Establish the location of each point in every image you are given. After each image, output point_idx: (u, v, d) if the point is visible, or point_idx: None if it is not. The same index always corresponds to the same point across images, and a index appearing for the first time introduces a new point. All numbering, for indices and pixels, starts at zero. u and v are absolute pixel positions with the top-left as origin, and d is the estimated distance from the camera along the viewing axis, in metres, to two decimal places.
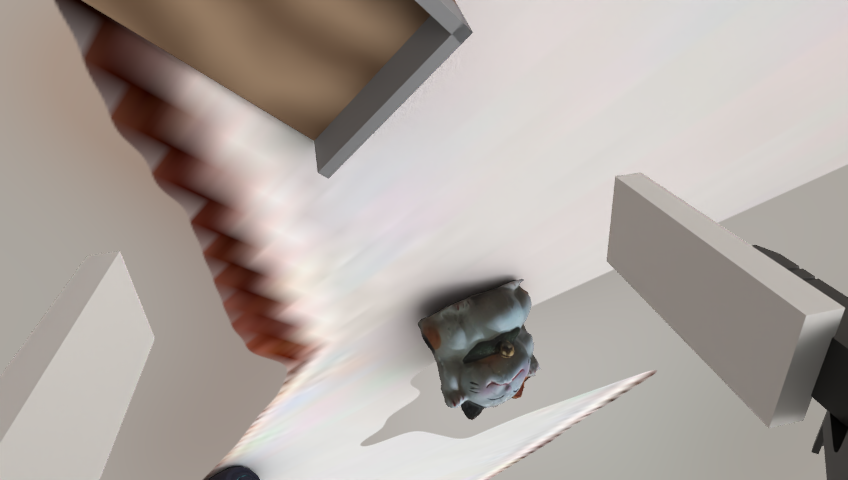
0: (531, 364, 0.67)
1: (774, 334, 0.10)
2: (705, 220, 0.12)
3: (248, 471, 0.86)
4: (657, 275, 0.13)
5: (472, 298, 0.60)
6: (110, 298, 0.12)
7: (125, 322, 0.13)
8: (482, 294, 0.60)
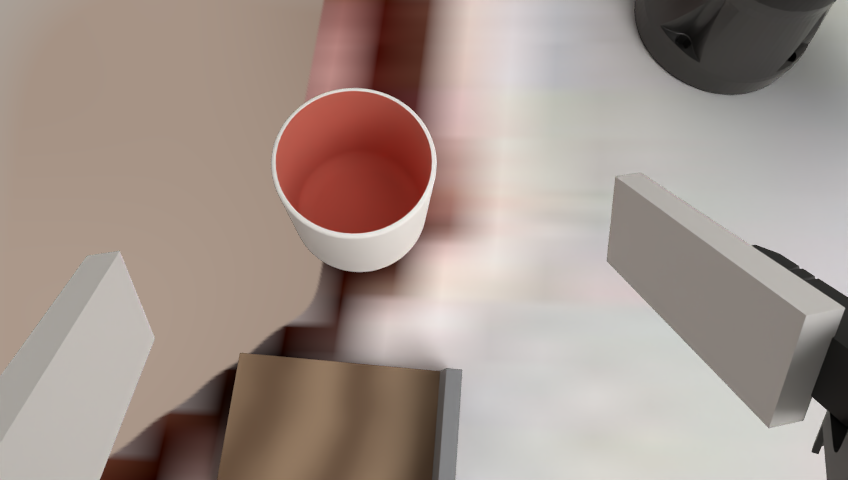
0: None
1: (774, 334, 0.10)
2: (705, 220, 0.12)
3: None
4: (658, 275, 0.13)
5: None
6: (110, 298, 0.12)
7: (125, 322, 0.13)
8: None
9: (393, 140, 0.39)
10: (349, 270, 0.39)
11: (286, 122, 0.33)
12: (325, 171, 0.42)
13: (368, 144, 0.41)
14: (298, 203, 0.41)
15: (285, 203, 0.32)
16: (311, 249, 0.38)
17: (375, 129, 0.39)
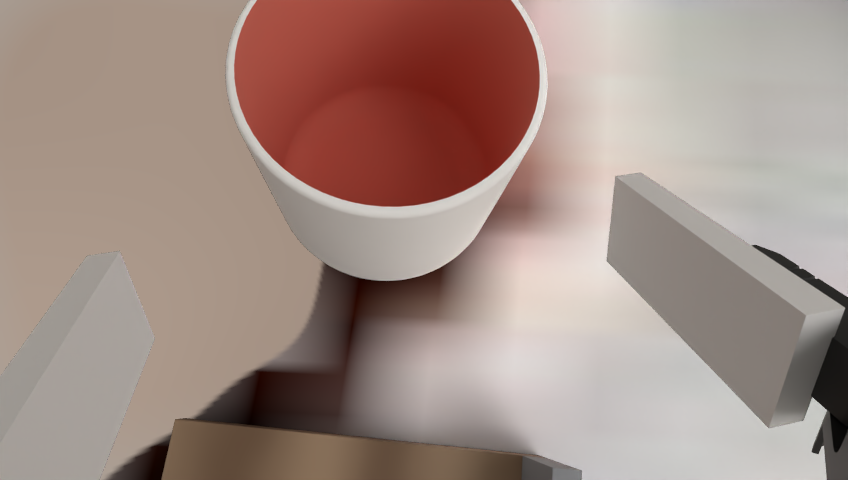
0: None
1: (774, 334, 0.10)
2: (705, 220, 0.12)
3: None
4: (658, 275, 0.13)
5: None
6: (110, 298, 0.12)
7: (125, 322, 0.13)
8: None
9: (447, 59, 0.23)
10: (368, 278, 0.23)
11: None
12: (330, 117, 0.26)
13: (401, 71, 0.25)
14: (284, 165, 0.25)
15: (250, 143, 0.16)
16: (304, 241, 0.22)
17: (417, 38, 0.23)
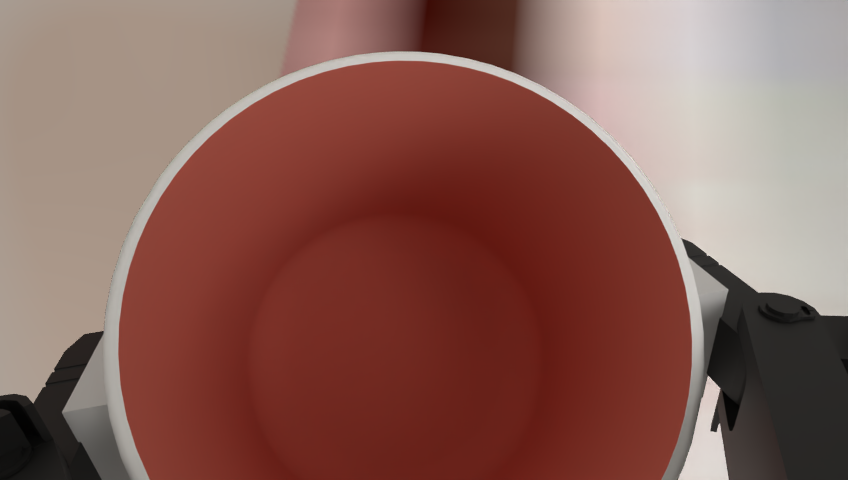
0: None
1: None
2: None
3: None
4: None
5: None
6: None
7: None
8: None
9: (489, 199, 0.15)
10: None
11: (173, 165, 0.09)
12: (316, 259, 0.19)
13: (418, 201, 0.17)
14: (249, 343, 0.17)
15: None
16: None
17: (446, 172, 0.15)
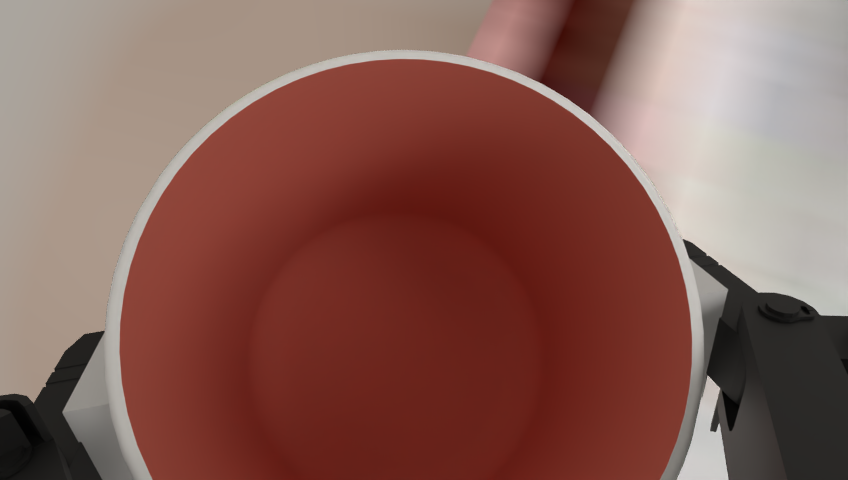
0: None
1: None
2: None
3: None
4: None
5: None
6: None
7: None
8: None
9: (489, 198, 0.15)
10: None
11: (174, 163, 0.09)
12: (317, 257, 0.19)
13: (419, 200, 0.17)
14: (250, 341, 0.17)
15: None
16: None
17: (446, 170, 0.15)
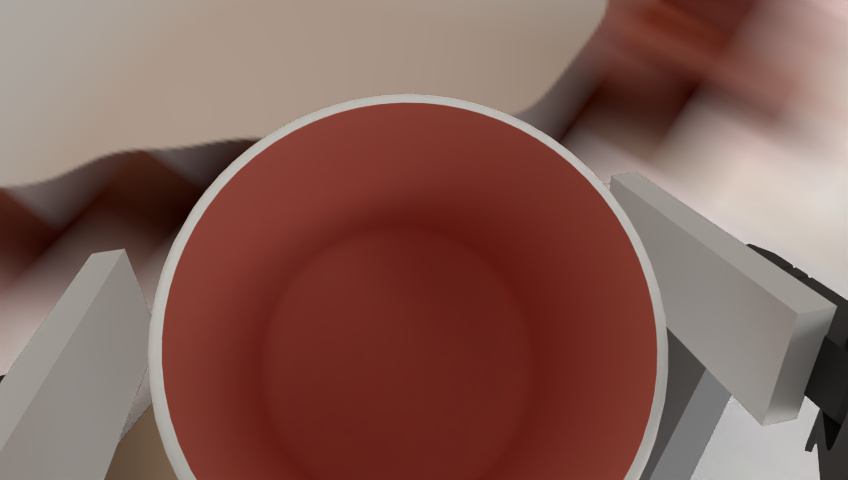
0: None
1: (767, 332, 0.10)
2: (700, 219, 0.12)
3: None
4: None
5: None
6: (115, 295, 0.12)
7: (130, 319, 0.13)
8: None
9: (484, 217, 0.17)
10: None
11: (206, 197, 0.11)
12: (323, 269, 0.20)
13: (419, 217, 0.19)
14: (262, 348, 0.18)
15: None
16: None
17: (444, 192, 0.16)
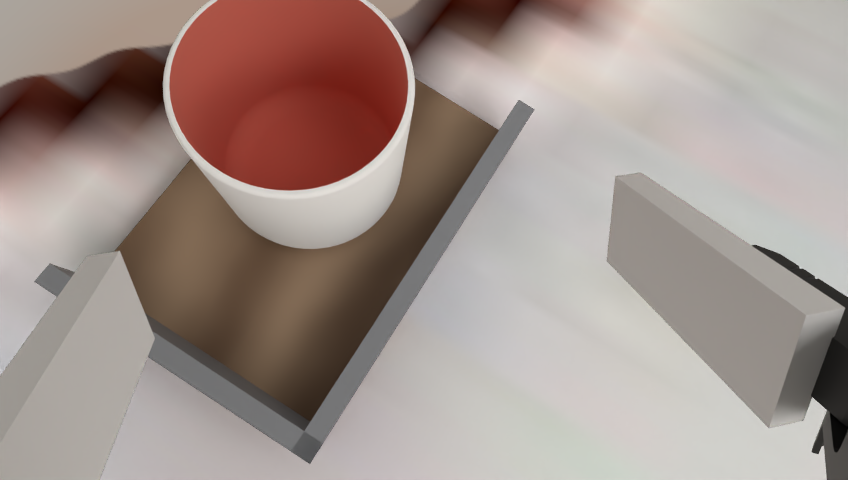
0: None
1: (774, 334, 0.10)
2: (705, 220, 0.12)
3: None
4: (658, 275, 0.13)
5: None
6: (110, 298, 0.12)
7: (125, 322, 0.13)
8: None
9: (352, 64, 0.28)
10: (299, 247, 0.29)
11: (185, 27, 0.22)
12: (263, 114, 0.31)
13: (319, 74, 0.30)
14: (226, 158, 0.30)
15: (186, 148, 0.21)
16: (243, 220, 0.27)
17: (326, 48, 0.28)
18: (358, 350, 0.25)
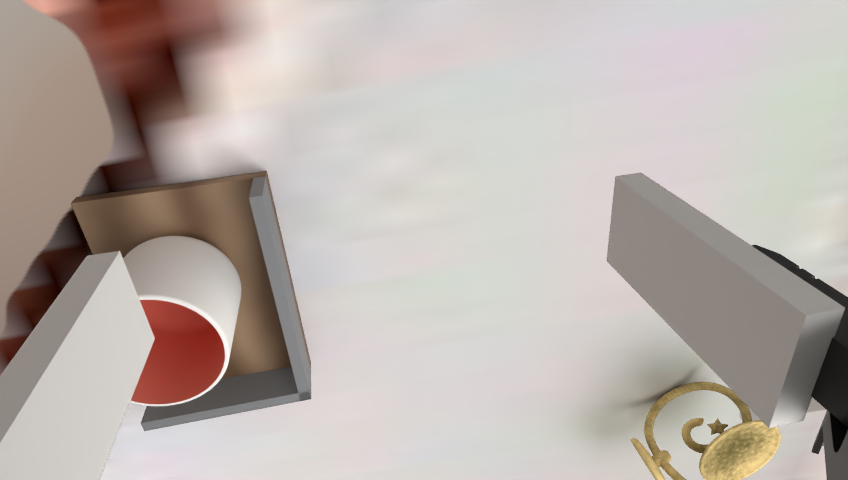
0: None
1: (774, 334, 0.10)
2: (705, 220, 0.12)
3: None
4: (657, 275, 0.13)
5: None
6: (110, 298, 0.12)
7: (125, 322, 0.13)
8: None
9: None
10: None
11: None
12: None
13: None
14: None
15: (153, 405, 0.41)
16: None
17: None
18: (290, 358, 0.48)
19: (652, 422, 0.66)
